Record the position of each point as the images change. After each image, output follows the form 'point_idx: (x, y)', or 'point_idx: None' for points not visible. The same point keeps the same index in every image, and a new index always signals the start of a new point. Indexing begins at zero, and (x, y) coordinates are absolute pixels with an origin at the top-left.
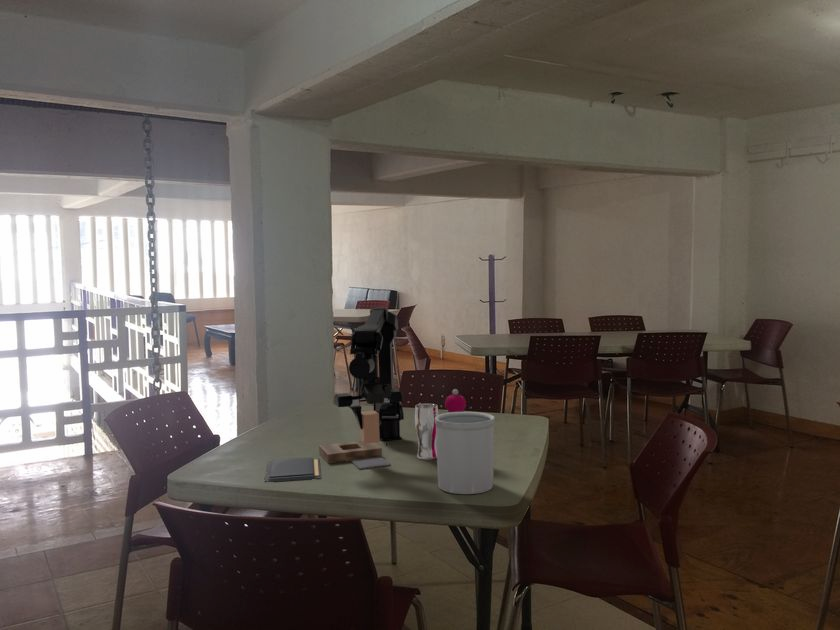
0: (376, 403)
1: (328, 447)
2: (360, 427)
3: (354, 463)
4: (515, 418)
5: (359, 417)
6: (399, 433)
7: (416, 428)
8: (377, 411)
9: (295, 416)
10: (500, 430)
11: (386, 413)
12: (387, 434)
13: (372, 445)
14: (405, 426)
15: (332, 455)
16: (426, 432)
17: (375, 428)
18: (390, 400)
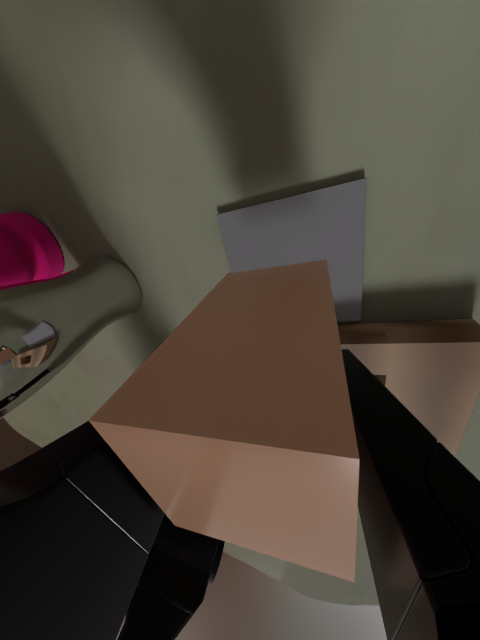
0: (95, 636)
1: (430, 424)
2: (356, 359)
3: (362, 266)
4: (39, 437)
5: (419, 454)
6: None
7: (43, 330)
8: (133, 490)
9: (367, 594)
10: (34, 402)
11: None
12: None
13: None
14: None
15: (462, 337)
16: (8, 289)
17: (220, 310)
18: (151, 565)
